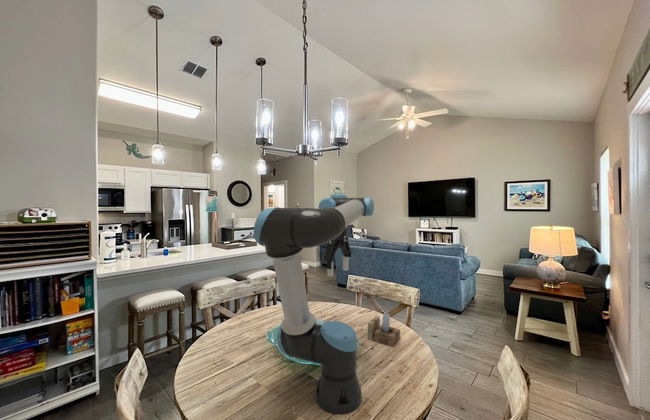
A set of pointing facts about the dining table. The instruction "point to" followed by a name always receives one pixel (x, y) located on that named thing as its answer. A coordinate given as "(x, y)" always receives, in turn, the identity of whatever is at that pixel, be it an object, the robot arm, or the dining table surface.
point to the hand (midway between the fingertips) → (338, 273)
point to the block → (387, 336)
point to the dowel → (386, 322)
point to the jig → (373, 327)
